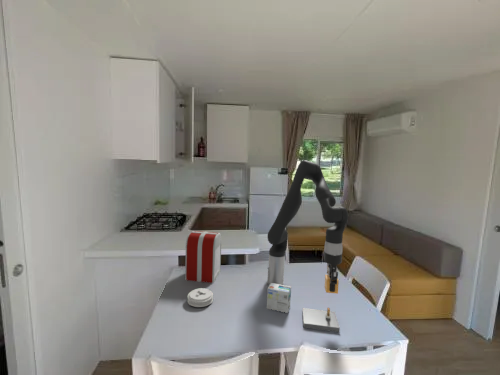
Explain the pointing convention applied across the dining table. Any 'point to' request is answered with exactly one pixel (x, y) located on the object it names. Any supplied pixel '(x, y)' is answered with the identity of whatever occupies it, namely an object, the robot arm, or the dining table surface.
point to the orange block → (327, 285)
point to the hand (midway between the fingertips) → (331, 288)
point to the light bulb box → (279, 297)
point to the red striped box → (203, 256)
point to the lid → (200, 297)
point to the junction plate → (320, 320)
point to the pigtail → (328, 314)
